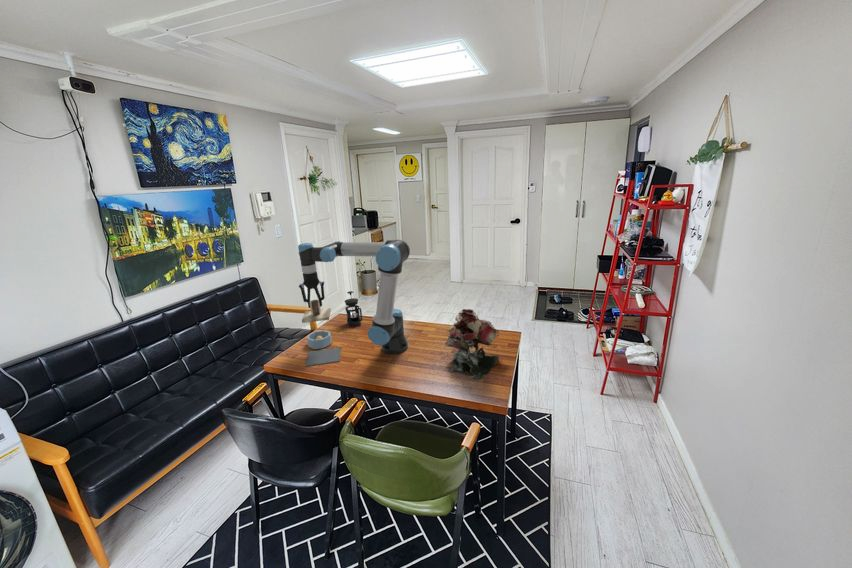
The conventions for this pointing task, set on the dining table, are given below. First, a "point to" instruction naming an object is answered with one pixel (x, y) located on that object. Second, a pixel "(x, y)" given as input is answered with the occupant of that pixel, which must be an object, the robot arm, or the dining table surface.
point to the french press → (355, 317)
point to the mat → (323, 357)
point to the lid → (316, 313)
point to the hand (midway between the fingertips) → (316, 312)
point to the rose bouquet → (471, 343)
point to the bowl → (319, 339)
